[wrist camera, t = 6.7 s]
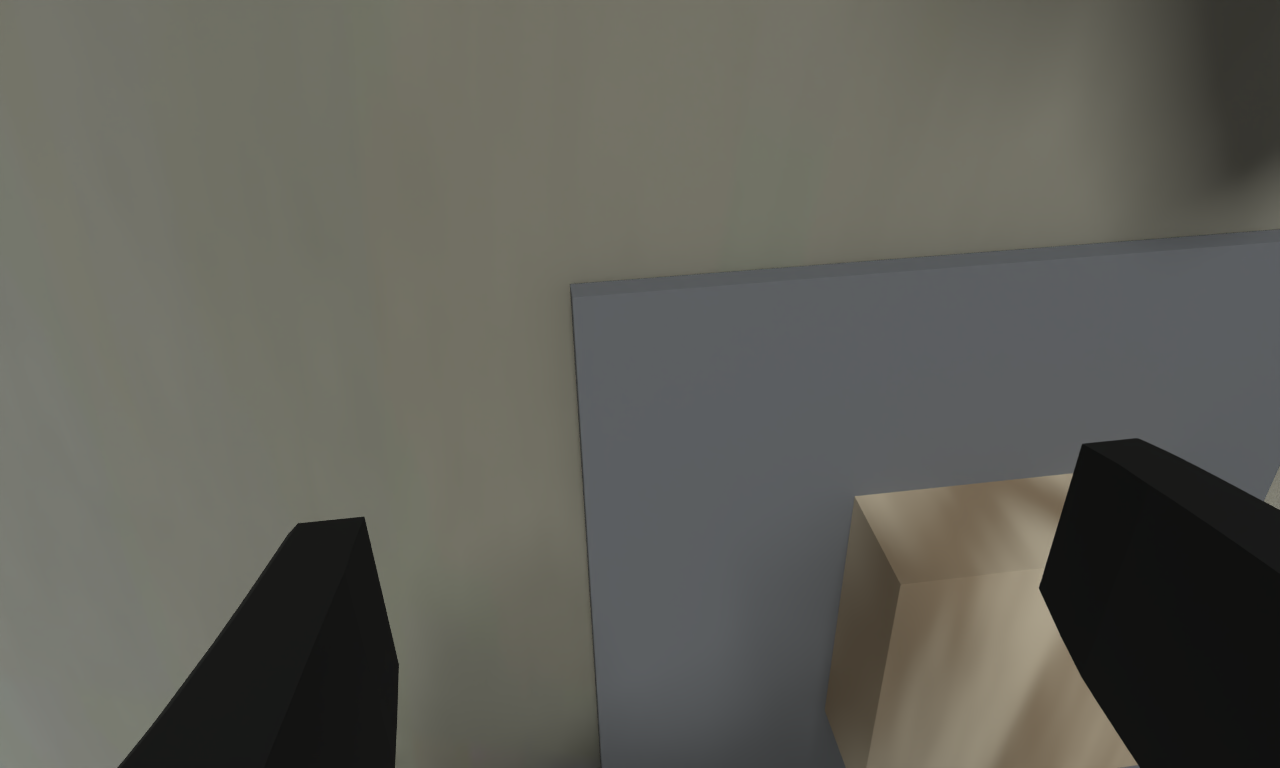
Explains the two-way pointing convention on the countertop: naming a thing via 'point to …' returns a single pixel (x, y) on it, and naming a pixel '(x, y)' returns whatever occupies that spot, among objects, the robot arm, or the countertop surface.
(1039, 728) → the tan flat block
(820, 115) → the countertop surface
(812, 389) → the mat
